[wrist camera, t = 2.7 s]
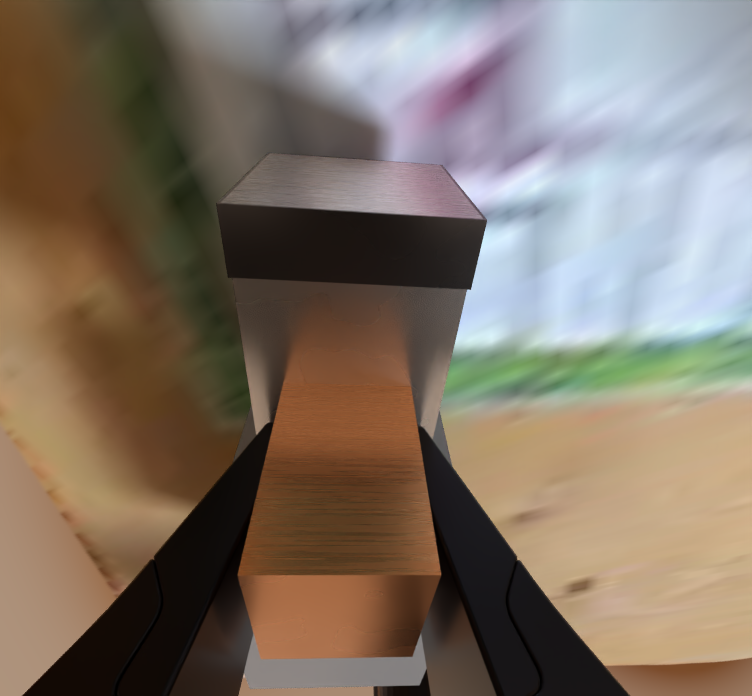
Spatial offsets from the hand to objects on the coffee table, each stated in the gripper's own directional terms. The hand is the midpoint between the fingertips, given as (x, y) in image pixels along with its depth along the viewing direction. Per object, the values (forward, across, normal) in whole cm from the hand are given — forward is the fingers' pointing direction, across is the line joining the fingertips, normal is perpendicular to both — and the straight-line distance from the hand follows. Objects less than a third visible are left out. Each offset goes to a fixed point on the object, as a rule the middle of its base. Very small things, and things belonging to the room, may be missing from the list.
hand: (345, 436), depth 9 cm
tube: (+4, 0, +4) cm, 6 cm away
